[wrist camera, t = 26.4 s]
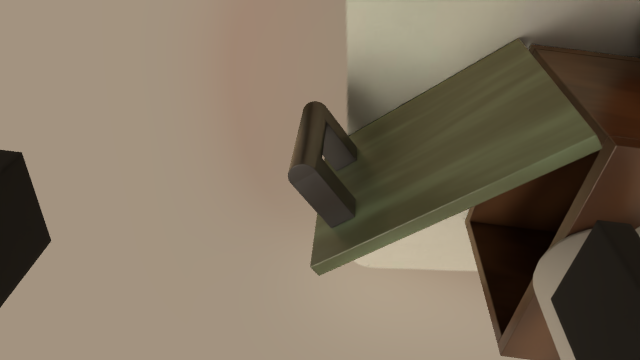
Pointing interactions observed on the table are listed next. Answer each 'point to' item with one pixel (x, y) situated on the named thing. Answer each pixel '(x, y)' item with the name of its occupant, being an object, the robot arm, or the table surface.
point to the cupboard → (560, 196)
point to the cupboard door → (433, 154)
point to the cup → (557, 284)
